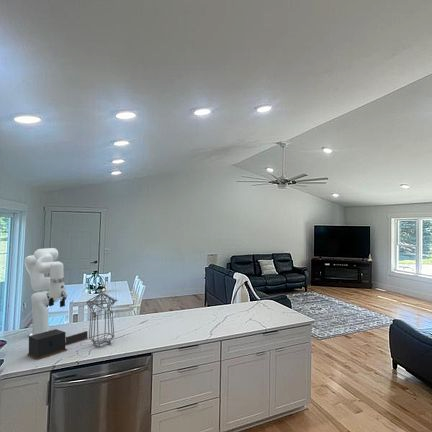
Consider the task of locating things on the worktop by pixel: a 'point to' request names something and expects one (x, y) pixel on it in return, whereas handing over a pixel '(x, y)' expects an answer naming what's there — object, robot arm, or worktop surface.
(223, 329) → the worktop surface
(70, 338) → the brown angular bar frame
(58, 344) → the wood-trimmed dark box
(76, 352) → the worktop surface
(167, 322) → the worktop surface
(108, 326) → the geometric lantern
